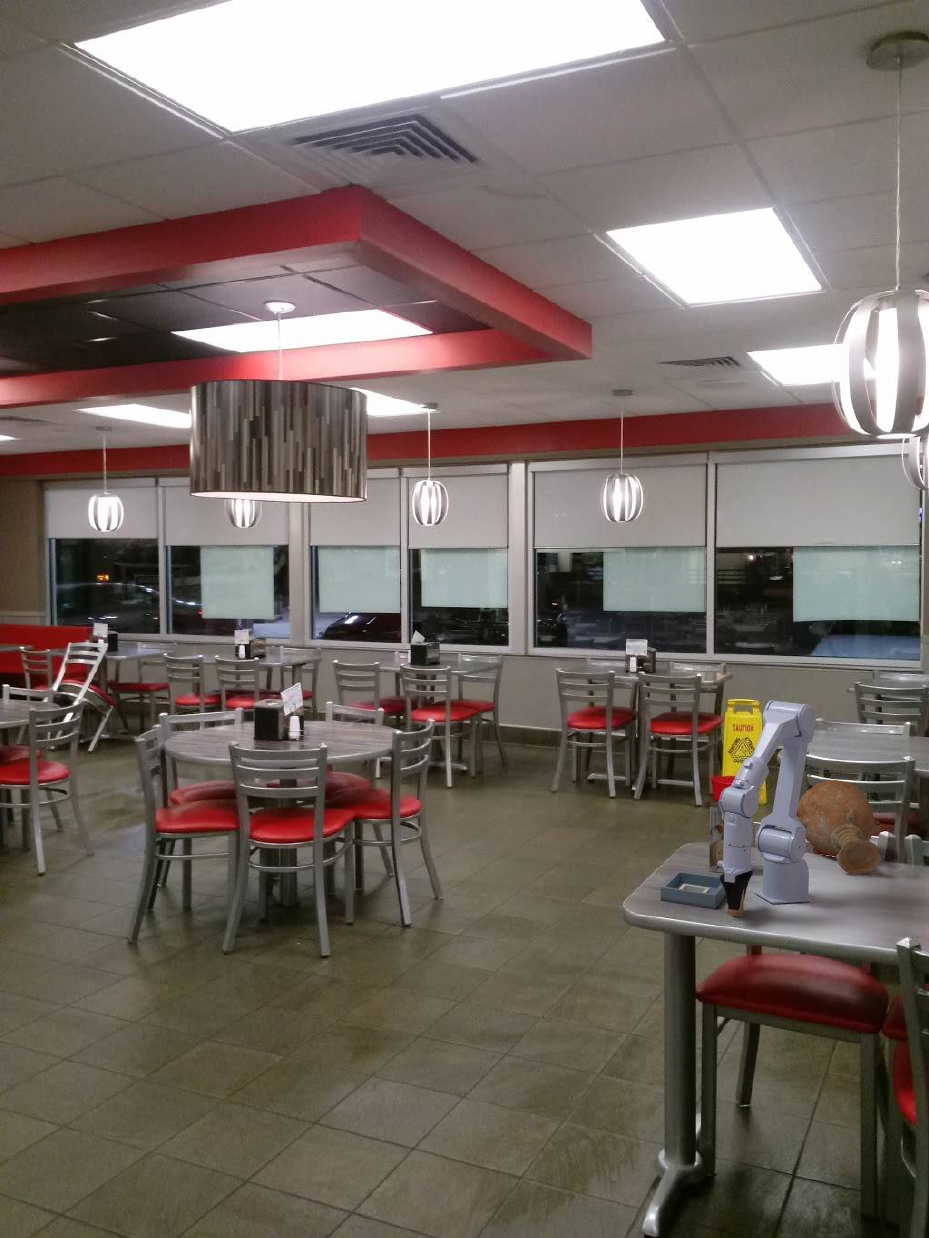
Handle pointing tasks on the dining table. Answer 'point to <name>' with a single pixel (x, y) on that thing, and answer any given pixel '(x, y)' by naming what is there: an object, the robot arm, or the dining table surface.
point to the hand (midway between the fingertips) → (735, 906)
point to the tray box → (693, 890)
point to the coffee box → (716, 838)
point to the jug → (841, 825)
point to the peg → (737, 912)
